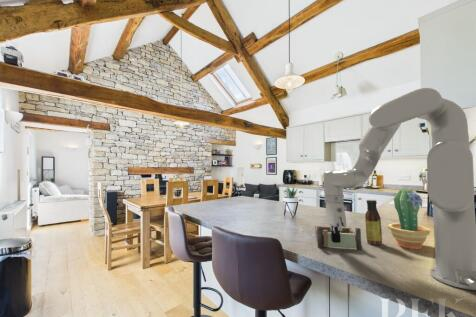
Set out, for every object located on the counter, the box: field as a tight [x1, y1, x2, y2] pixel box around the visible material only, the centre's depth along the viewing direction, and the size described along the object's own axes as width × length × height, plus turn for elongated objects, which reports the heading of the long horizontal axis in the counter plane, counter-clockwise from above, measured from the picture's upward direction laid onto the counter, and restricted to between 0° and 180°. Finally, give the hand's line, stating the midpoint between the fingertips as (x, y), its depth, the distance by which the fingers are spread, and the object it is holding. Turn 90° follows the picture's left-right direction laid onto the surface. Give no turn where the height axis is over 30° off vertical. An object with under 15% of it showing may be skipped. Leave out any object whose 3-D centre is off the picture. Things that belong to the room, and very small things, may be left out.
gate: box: [323, 230, 356, 250], centre depth 97 cm, size 12×2×7 cm, turn 75°
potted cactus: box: [387, 188, 431, 250], centre depth 99 cm, size 15×15×25 cm
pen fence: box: [314, 225, 362, 251], centre depth 104 cm, size 18×18×9 cm
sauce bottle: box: [364, 199, 383, 246], centre depth 103 cm, size 6×6×20 cm
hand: (336, 241), depth 94 cm, fingers closed
